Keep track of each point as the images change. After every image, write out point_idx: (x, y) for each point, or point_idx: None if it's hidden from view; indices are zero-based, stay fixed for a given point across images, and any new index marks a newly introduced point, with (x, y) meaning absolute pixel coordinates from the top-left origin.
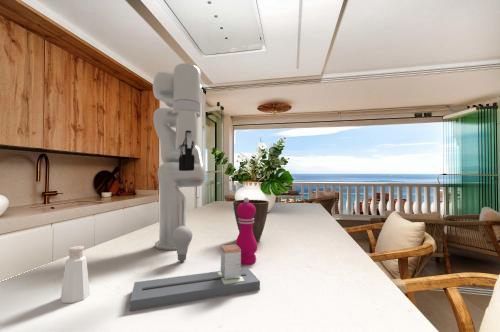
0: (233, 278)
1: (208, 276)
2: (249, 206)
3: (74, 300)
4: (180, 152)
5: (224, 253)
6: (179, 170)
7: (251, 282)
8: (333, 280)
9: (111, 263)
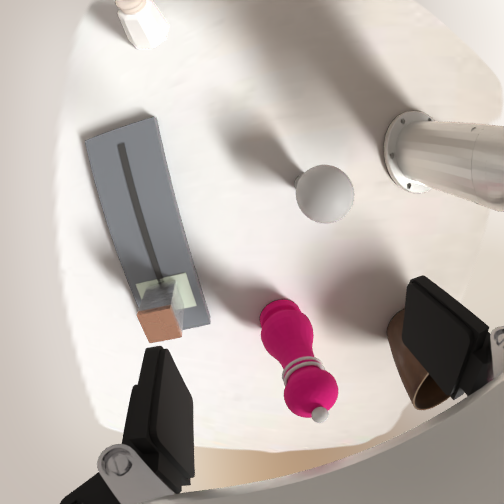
0: None
1: (169, 256)
2: (294, 410)
3: (129, 40)
4: (493, 377)
5: (141, 310)
6: (413, 279)
7: None
8: None
9: (312, 32)
